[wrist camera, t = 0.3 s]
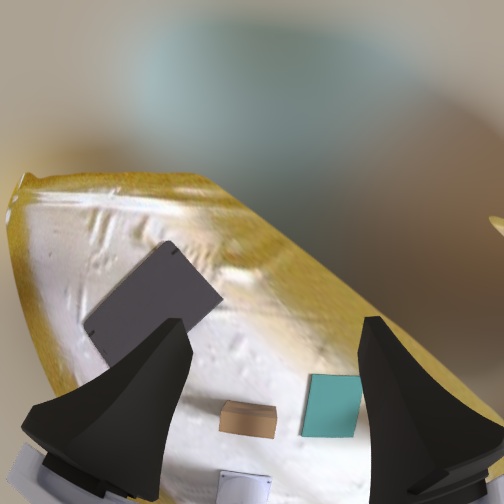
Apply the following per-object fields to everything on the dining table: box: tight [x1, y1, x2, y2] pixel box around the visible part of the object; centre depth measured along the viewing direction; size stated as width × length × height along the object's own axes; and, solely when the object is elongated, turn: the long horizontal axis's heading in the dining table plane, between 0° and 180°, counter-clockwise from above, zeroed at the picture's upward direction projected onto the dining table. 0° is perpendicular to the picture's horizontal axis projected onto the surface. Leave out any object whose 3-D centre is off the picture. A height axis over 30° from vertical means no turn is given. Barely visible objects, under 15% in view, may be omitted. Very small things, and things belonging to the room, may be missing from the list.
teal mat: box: [302, 374, 363, 438], centre depth 35 cm, size 10×8×1 cm
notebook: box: [84, 241, 223, 368], centre depth 40 cm, size 13×2×21 cm
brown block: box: [219, 400, 277, 439], centre depth 33 cm, size 7×3×6 cm, turn 82°
